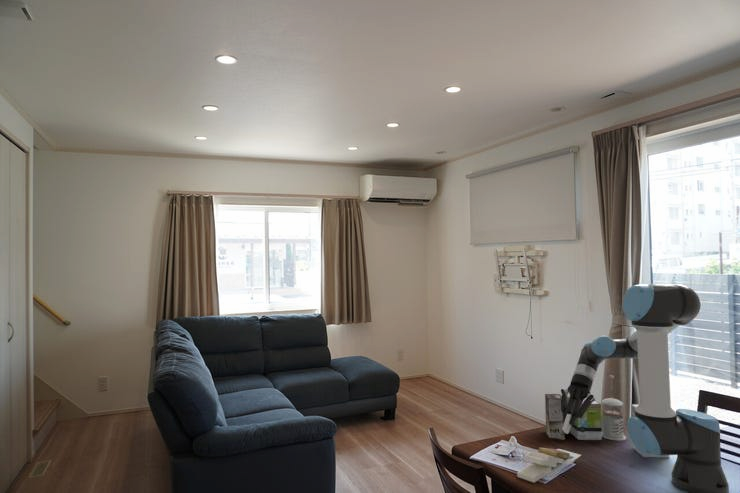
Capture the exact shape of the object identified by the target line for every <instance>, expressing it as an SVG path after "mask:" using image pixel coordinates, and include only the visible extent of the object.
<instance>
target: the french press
mask: <svg viewBox="0 0 740 493" xmlns="http://www.w3.org/2000/svg"><path fill="white" fill-rule="evenodd" d="M608 378H609V379H611V380H610V381H611V382H610V383H611V387H610V388H611V389H613V379H615V377H614V375H612V374H610V375H608ZM601 404H603V405H605V406H609V407H611V409H604V410H602V413H601V426H602V427H601V430H602V438H603V439H607V440H611V441H624V440H627V436H626V435H625V434H624V421H625V419H626V413H624V416H623V409H624V411H626V409H625V406H624V402H622V401H621V400H619V399H617V398H613V397H610V398H608V397H607V398H603V400H601ZM613 407H616V408H617V409H620V411H619V410H616V409H615V410H614V409H613ZM606 416H607V417H606Z"/></svg>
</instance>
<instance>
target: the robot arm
mask: <svg viewBox="0 0 740 493" xmlns="http://www.w3.org/2000/svg"><path fill="white" fill-rule="evenodd" d="M701 307H702V306H701V300H700V297H699V295H698V294H697V292H695V291H694V290H693V289H692V288H691V287H689V286H687V285H684V284H681V283H644V284H642V283H640V284H634V285H631V286H630V287H628V289H627V291H625V293H624V295H623V298H622V312H623V313H624V314H623V315H624V316H625V317H626V319H627V320H629V321H630V323H631V326H632V327H633V329H634V330H635V331H634V332H633V333H632V334H631V335H629V336H628V337H627V338H611V337H610V336H608V335H600V336H598V337H597V338H595V339H594V340H593V341H592V342H589V343H585V344H584V345H583V346H582V349H581V351H580V355H579V358H578V361H577V364H576V366H575V369H574V372H573V375H572V376H571V377H572V378H571V380H570V384H569V386H568V387H567V388H566V389H564V388H561V389H560V393H561V396H562V400H561V411H562V413H563V414H564V418H563V423H564V424H563V427H562V430H563V432H564V433H565V435H567V434H569V433H570V432H569V430H570V427H571V425H572V426H573V425H574V423H575V419H576V418H582V417H583V415H584V413H585V412H586V410H587V409H588V407H589V406H590V404H591V403H592V402H593V401H595V400H596V398H595V396H594V394H591V390H592V387H593V383H594V380H595V377H596V374H597V372H598V368H599V366H600V364H601V363H602V362H604V361H605V360H616V359H617V360H619V359H623V360H624V359H636V360H637V364H638V365H637V367H638V368H637V370H638V389H639V390H638V392H639V396H638V397H639V404H637V405H638V406H637V407H636V408H635V416H632V415H631V416H630V417H628V420H627V424H626V428H627V432H628V436H629V439H630V441H631V443H632V446H633V445H634V446H635V447H636V449H637V450H638V451H639V452H641V453H642V454H645V455H655V456H660V455H669V456H676V460H675V463H674V466H673V468H672V470H671V471H672V472H671V482H672V483H673V484H674V486H675V487H677V488H679V489H681V490H683V491H685V492H687V493H729V492H730V487H729V486H730V485H729V482H728V479H727V476H726V474H725V472H724V470H723V466H722V455H721V453H722V452H721V434H722V433H721V428H720V422H719V420H718V419H717V418H716V417H715V416H713V415H710V414H708V413H705V412H701V411H697V410H694V409H687V408H677V409H676V410H674V409H672V407H671V384H670V383H671V382H670V360H669V359H670V358H669V356H670V355H669V337H668V335H669V334H670V333H672V332H673V331H675V329H677V328H678V327H680V326H686V325H688V324H689V323H691V322H692V321H693V320H694V319H695V318H696V317H697V316H698V315H699V313H700V310H701ZM568 394H570V399H569V401H568V404H567V396H568ZM586 397H587V398H586ZM585 398H586V399H585ZM584 399H585V401H584V402H583V400H584ZM582 402H583V404H582ZM574 403H575V405H574ZM581 404H582V406H581ZM566 406H567V407H566ZM573 406H574V408H573ZM580 406H581V407H580ZM572 409H573V411H572ZM571 412H572V413H571ZM571 414H572V416H571Z"/></svg>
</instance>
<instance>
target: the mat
mask: <svg viewBox="0 0 740 493" xmlns="http://www.w3.org/2000/svg"><path fill="white" fill-rule="evenodd" d="M556 450H559V451H563V452H566V453H570V456H569V458H562V459H564V460H563V464H562V463H557V466H556V467H551V472H550V473H548V474H547V475H546V476H547V477H552V476H553V475H555V474H556V473H557V472H559V471H560V470H562V469H563V468H565V467H566V466H568V465H569V464H571V463H572V462H574V461H576V460H577V459H578V458H580V457H581V456H582V454H579V453H575V452H572V451H568V450H564V449H561V448H557V449H556ZM559 458H561V457H559Z"/></svg>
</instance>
